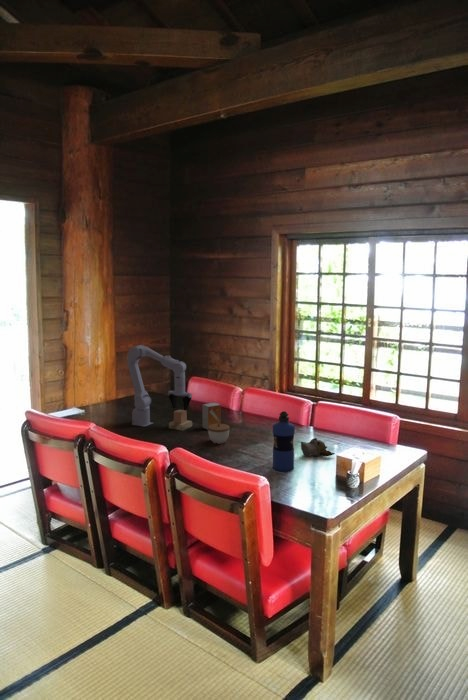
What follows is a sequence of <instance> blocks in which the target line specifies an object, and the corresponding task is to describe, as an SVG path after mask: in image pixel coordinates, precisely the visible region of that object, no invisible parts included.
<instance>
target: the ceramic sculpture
mask: <svg viewBox="0 0 468 700" xmlns="http://www.w3.org/2000/svg"><path fill="white" fill-rule="evenodd" d="M327 448H328V446H327V445H326V443H325V442H324V441H323V440H320V439H317V437H314V438H312V439H311V440H310V441H309V442H305V441H300V449H301V452H302V454H303V456H304V457H306V458H309V457H310V456H314V457H321V456H322V457H325V458H327V457H330V456H333V455H335V452H331V451H330V450H327Z"/></svg>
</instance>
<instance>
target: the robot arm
mask: <svg viewBox="0 0 468 700" xmlns="http://www.w3.org/2000/svg"><path fill="white" fill-rule="evenodd" d="M143 357H149V358H151V359H153V360H156V361H158V362H160V363H161V365H162V366H163V367H165V368H168V369H169V370H172V371H173V374H174V375H173V376H174V379H173V380H174V390H168V391H167V394H168V398H169V401H170V402H171V405H172V409H176V408H177V399H178V397H182V401H183V410H185V411H187V410H188V409H189V405H190V403H191V400H192V397H193V393H192V392H191V393H190V392H187V391H186V370H187V364H186V362H184V361H182V360H181V361H180V360H179V359H174V358H172V356H171V355H165V356H163V354H160V353H159V352H156V350H153V349H152V348H150V347H148V346H147V345H144V344H138V345H136V346H132V347H131V348H130V349H129V350H128V351H127V361H126V362H127V363H126V364H127V367H128V371H129V374H130V378H131V381H132V385H133V389H134V397H133V398H134V403H133V405H134V407H135V408H133V409H132V412H131V416H132V417H131V420H132V421H131V422H132V423H131V425H132V426H136V427H137V426H138V427H148V426H150V425H153V424H154V422H151V415H150V414H151V412H150V411H151V410H150V408H151V407H150V406H151V404H152V398H151V397H150V396H149V393H148V391H146V389H145V385H144V382H143V379H142V378H143V377H142V373H141V370H140V366H139V361H140V360H141V359H142V358H143Z"/></svg>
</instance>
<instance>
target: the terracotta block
mask: <svg viewBox="0 0 468 700" xmlns="http://www.w3.org/2000/svg"><path fill="white" fill-rule="evenodd" d="M187 414H188V412H187V410H184V409H177V410H174V411H173V421H174V422H175V423H180V424H182V423H184V422H187V420H188V418H187Z"/></svg>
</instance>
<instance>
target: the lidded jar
mask: <svg viewBox="0 0 468 700" xmlns="http://www.w3.org/2000/svg"><path fill="white" fill-rule="evenodd" d="M207 432H208V437H209V439H210V440H211V442H212V443H213V444H216V443H217V445H218V444H224V443H225V442H226V441H227V440H228V439H229V435H230V425H228V424H226V423H221V424H220V423H218V424H212V425H209V426H208V430H207Z"/></svg>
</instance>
